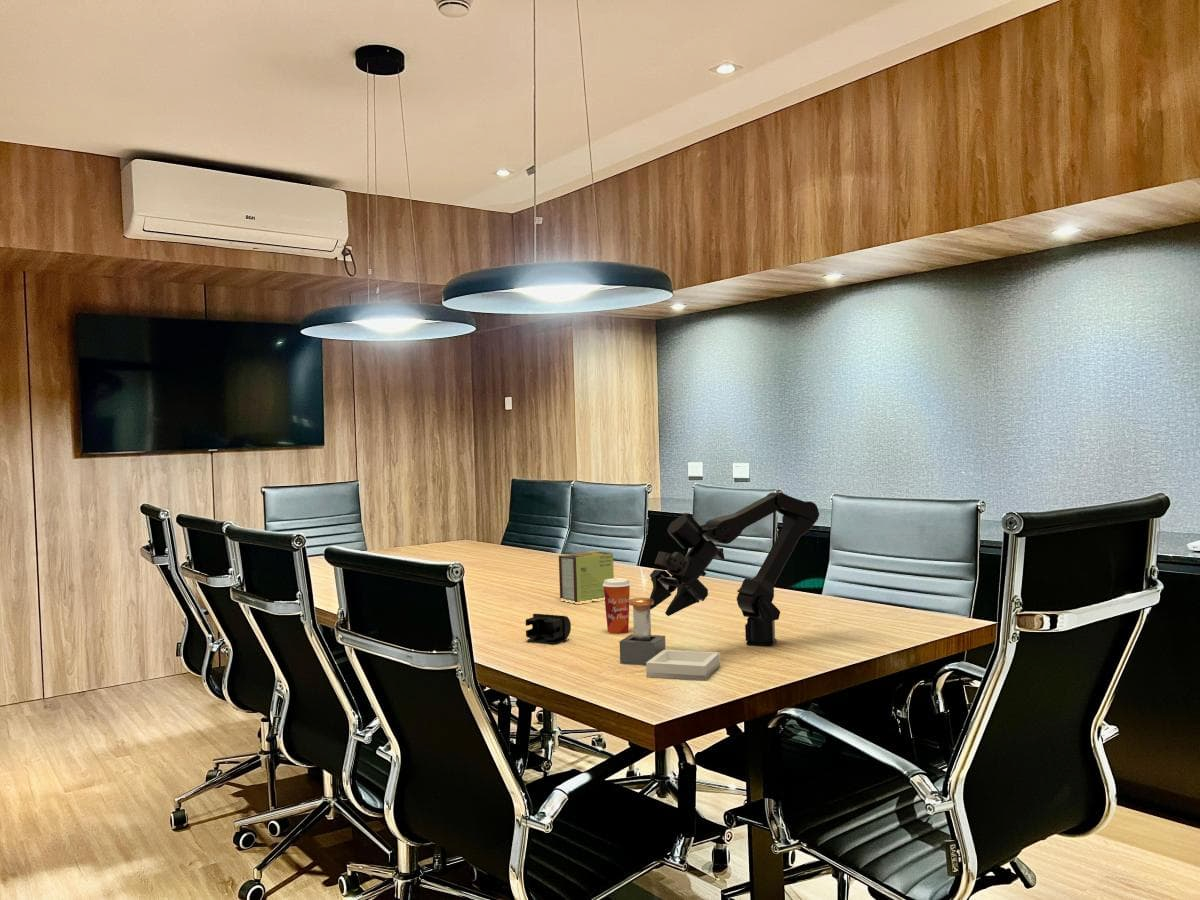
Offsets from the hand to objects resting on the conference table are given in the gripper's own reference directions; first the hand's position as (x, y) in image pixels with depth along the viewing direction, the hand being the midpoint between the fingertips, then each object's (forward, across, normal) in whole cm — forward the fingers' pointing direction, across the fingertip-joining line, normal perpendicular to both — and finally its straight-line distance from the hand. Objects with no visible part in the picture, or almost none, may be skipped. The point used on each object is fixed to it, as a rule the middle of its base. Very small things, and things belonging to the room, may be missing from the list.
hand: (656, 611), depth 207 cm
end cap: (+18, -33, -2) cm, 38 cm away
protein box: (-7, -86, +22) cm, 89 cm away
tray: (+9, +14, +7) cm, 18 cm away
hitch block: (+10, 0, +5) cm, 11 cm away
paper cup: (+4, -33, +12) cm, 35 cm away
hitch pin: (+10, 0, +5) cm, 11 cm away
